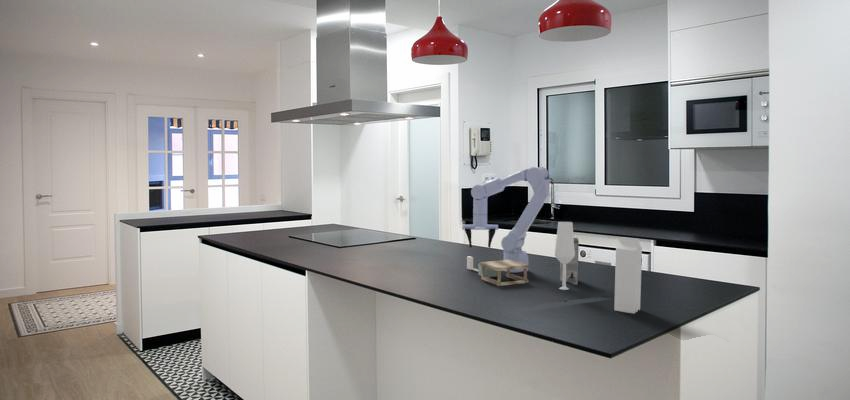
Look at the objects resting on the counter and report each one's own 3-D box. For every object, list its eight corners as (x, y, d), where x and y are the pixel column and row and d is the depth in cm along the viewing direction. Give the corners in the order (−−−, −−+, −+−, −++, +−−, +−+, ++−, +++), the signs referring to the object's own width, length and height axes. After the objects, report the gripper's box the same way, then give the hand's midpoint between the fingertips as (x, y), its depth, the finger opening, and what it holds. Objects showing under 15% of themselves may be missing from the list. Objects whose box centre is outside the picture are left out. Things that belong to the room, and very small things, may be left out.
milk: (620, 306, 177) (622, 236, 175) (640, 309, 173) (642, 237, 172) (613, 310, 172) (615, 238, 170) (634, 313, 168) (636, 239, 167)
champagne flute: (552, 293, 194) (554, 223, 192) (555, 289, 200) (556, 221, 199) (573, 294, 192) (574, 223, 190) (574, 290, 198) (576, 221, 196)
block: (474, 267, 233) (474, 255, 232) (498, 276, 216) (498, 263, 216) (461, 269, 230) (461, 256, 230) (485, 277, 214) (485, 264, 213)
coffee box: (559, 279, 217) (560, 237, 216) (576, 279, 216) (577, 237, 215) (560, 284, 208) (561, 240, 207) (578, 285, 207) (579, 241, 206)
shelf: (497, 275, 223) (498, 256, 223) (528, 285, 205) (528, 264, 205) (469, 278, 218) (469, 258, 217) (497, 289, 200) (497, 267, 199)
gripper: (462, 215, 229) (462, 248, 230) (499, 215, 229) (498, 248, 230) (462, 213, 236) (461, 245, 237) (497, 213, 236) (496, 246, 237)
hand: (479, 247), depth 234 cm, fingers open, 7 cm apart
